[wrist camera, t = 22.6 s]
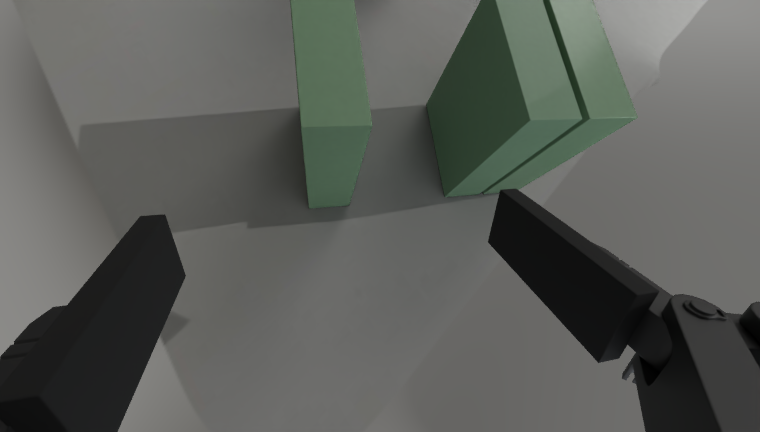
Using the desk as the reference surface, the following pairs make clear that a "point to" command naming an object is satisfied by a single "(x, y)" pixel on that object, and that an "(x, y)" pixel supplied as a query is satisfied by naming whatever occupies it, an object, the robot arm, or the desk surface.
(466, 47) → the green book
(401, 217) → the desk surface
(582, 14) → the green book
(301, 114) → the sage book
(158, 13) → the desk surface
